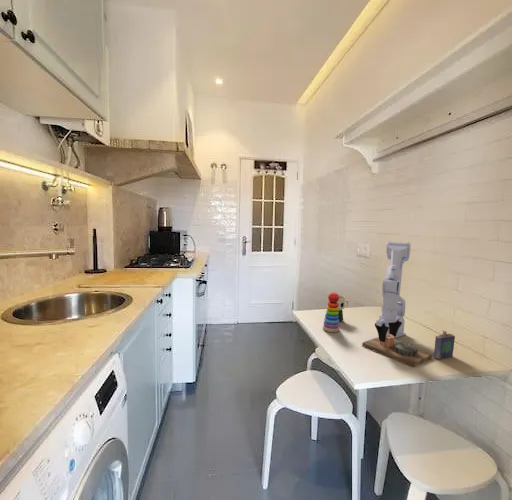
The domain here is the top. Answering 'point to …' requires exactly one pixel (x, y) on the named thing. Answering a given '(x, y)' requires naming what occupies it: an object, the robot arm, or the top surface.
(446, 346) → the flask
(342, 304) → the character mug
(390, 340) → the terracotta gear
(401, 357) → the board
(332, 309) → the stacking toy
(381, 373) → the top surface
